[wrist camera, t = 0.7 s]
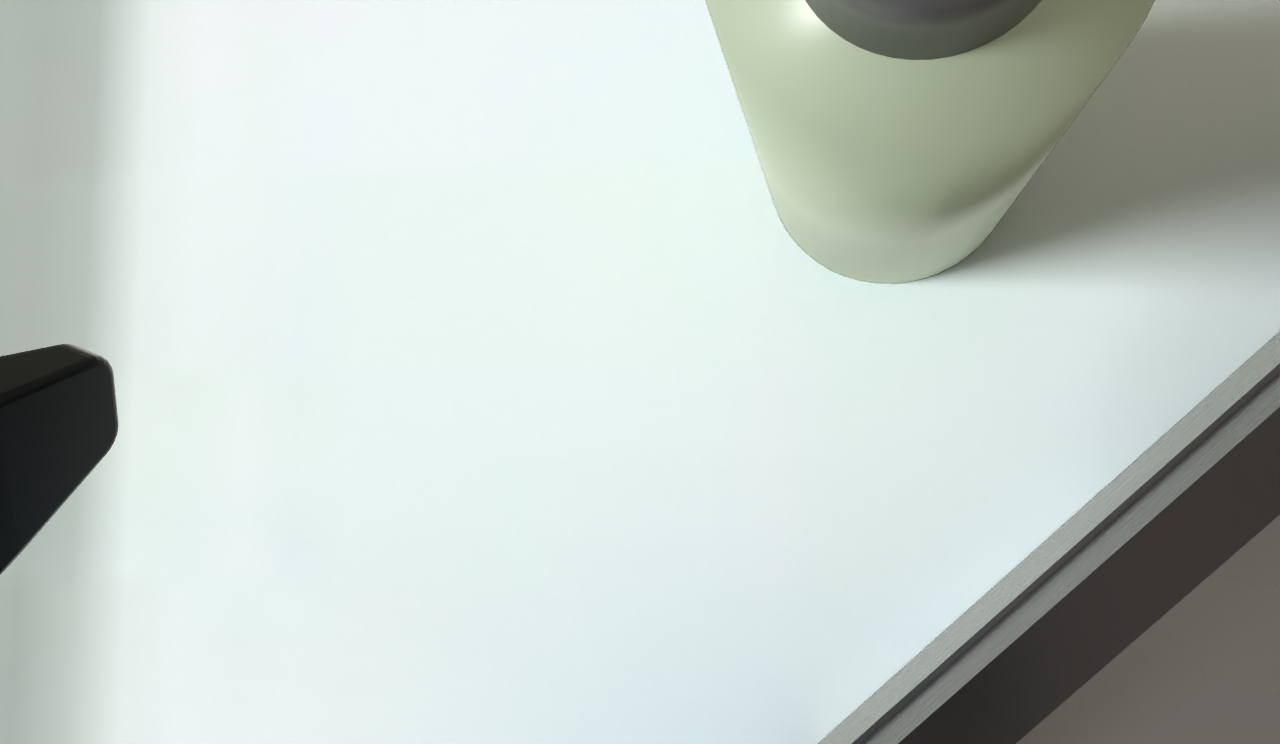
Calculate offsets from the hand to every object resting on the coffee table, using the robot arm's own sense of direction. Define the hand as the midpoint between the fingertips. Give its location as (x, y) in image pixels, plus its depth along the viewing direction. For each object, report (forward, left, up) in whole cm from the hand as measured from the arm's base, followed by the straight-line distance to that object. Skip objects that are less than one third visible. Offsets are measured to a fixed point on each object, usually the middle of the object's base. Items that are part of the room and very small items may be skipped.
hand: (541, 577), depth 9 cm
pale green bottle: (+8, -1, -13) cm, 15 cm away
